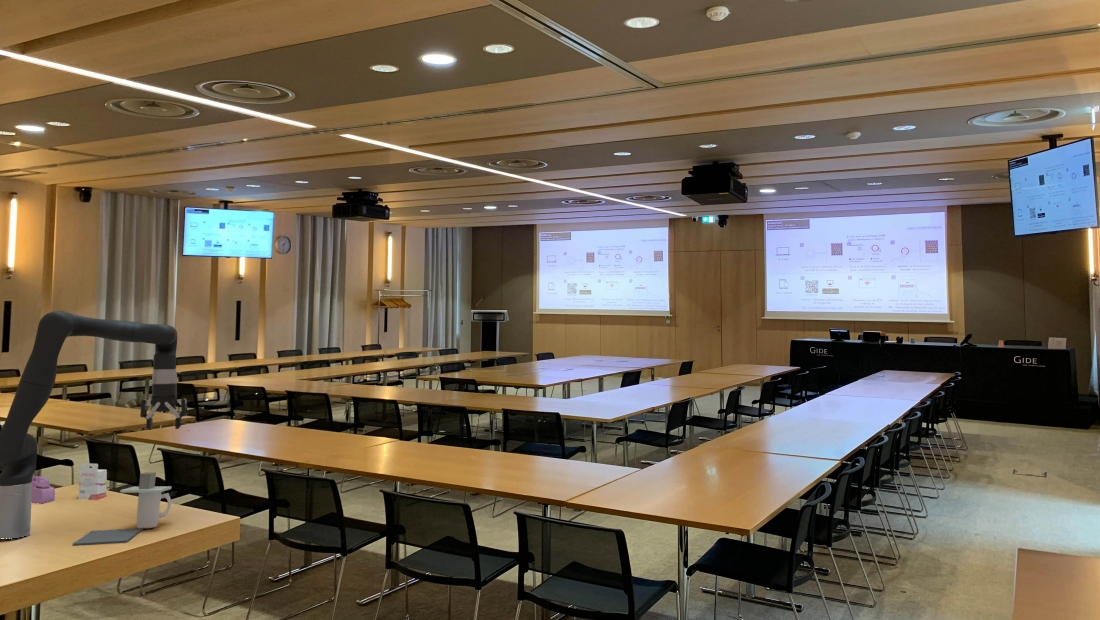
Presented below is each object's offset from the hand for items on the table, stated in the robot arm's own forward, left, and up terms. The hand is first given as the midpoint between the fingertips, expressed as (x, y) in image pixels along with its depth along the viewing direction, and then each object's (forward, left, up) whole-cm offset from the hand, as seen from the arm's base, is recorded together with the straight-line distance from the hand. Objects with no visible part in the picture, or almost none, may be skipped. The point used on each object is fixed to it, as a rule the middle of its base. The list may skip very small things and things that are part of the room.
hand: (164, 429), depth 243 cm
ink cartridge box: (-37, +45, -33) cm, 67 cm away
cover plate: (-3, -5, -20) cm, 21 cm away
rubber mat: (-11, -15, -32) cm, 37 cm away
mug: (-2, -5, -32) cm, 33 cm away
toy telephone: (-59, +48, -33) cm, 82 cm away
